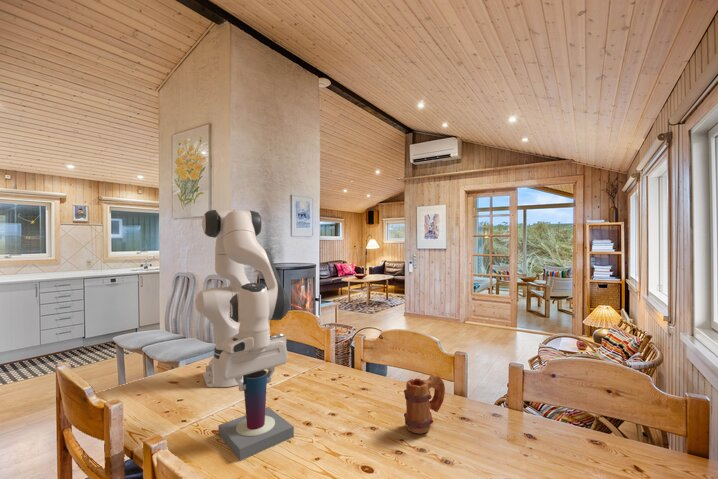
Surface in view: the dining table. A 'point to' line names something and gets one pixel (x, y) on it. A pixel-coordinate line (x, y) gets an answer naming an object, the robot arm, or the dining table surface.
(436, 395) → the mug
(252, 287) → the robot arm
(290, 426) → the plinth
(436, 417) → the dining table surface
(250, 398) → the cup
